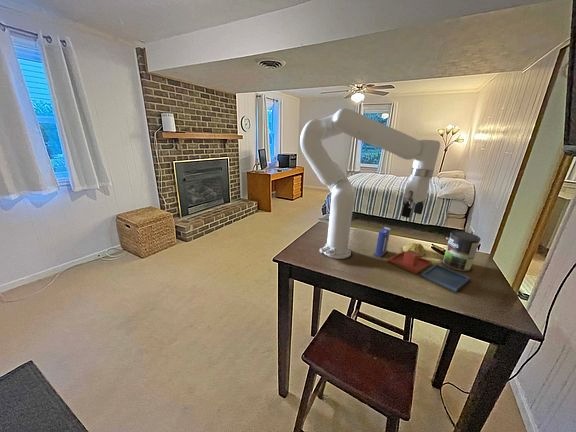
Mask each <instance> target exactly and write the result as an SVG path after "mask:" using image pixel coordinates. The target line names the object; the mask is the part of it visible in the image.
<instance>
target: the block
mask: <svg viewBox="0 0 576 432" xmlns="http://www.w3.org/2000/svg"><path fill="white" fill-rule="evenodd" d="M419 257H421V256H420V254H419V253H417V252H414V251H412V250H408V251H406V252H404V257H403V261H402V262H404V263H407V264H409V265H411V266H414V265H415V264H417V263H418V260H419Z"/></svg>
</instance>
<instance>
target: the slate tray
mask: <svg viewBox="0 0 576 432" xmlns="http://www.w3.org/2000/svg"><path fill="white" fill-rule="evenodd" d="M420 276H421V277H423V278H426V279H427V280H430V281H432V282H434V283H436V284H438V285H441V286H443V287H445V288H447V289H449V290H451V291H454V292H458V291H459V290H460V289H461V288H463V286H464V285H466V284H467V283H468V282H469V281H470V280H471V277H470V276H469V275H465V274H463V273H461V272H458V271H455V270H453V269H451V268H449V267H446V266H443V265H440V264H437V263H435V264H434V265H432V266H430V267H429V268H427V269H426V270H424V271H423V272H421V275H420Z"/></svg>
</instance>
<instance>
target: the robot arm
mask: <svg viewBox="0 0 576 432" xmlns="http://www.w3.org/2000/svg"><path fill="white" fill-rule="evenodd" d="M342 133H343V134H345V135H347V136H350V137H351V138H354V139H356V140H358V141H361V142H363V143H364V144H367V145H370V146H373V147H376V148H379V149H381V150H384V151H387V152H388V153H391V154H393V155H395V156H397V157H398V158H401V159H404V160H408V161H410V160H413V162H412V166H411V171H410V176H409V179H408V181H407V183H406V187H405V189H404V194H403V198H402V210H401V214H400V215H401V217H403V218H407V219H409V218H410V217H411V215H412V214H411V213H412V209H413V213H414V214H417V215H422V213H423V209H424V206H425V204H426V200H427V197H428V195H429V194H428V192H429V189H430V183H431V179H433V175H434V171H435V167H436V164H437V160H438V156H439V152H440V148H441V142H440V141H439V140H434V139H417V138H415V137H413V136H411V135H408V134H406V133H404V132H402V131H400V130H398V129H395V128H393V127H390V126H388V125H386V124H384V123H382V122H380V121H378V120H376V119H373V118H370V117H368V116H367V115H364V114H362V113H359V112H357V111H354V110H353V109H350V108H347V107H342V108H339V109H338V110H337V111H336V112H335V113H333V114H330V115H328V116H326V117H323V118H320V119H318V118H313V119H310V120H309V121H307V122H306V123H305V124H304V126H303V128H302V130H301V133H300V137H299V145H300V149H301V152H302V154H303V157H304V158H305V159H306V161H307V162H308V164H309V166H310V167H311V169H312V170H313V172H314V173H315V175H316V176H317V178H318V180H319V182H320V183H321V184H323V185H324V186H326V187H327V189H329V191H330V192H331V197H330V207H329V217H328V230H327V238H326V243H325V245H324V246H323V247H321V248H319V250H318V251H319V253H320V254H324V255H325V256H327V257H329V258H332V259H336V260H340V259H341V260H343V259H347V258H349V257H350V256H351V254H352V252H351V249H349V243H350V235H351V227H352V219H353V214H354V213H353V211H354V207H355V200H356V193H355V189H354V187H353V184H352V183H351V182H350V180H349V178H348V176H346V173H345V172H344V171H343V169H342V168H341V166H340V165H339V164H338V163H337V162H336V161H334V160H333V159H332V158H331V156H330V155H329V153H328V151H327V150H326V149H325V146H324V145H323V140H326V139H329V138H332V137H335V136H338V135H340V134H342ZM413 205H414V207H413ZM412 207H413V208H412Z"/></svg>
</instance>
